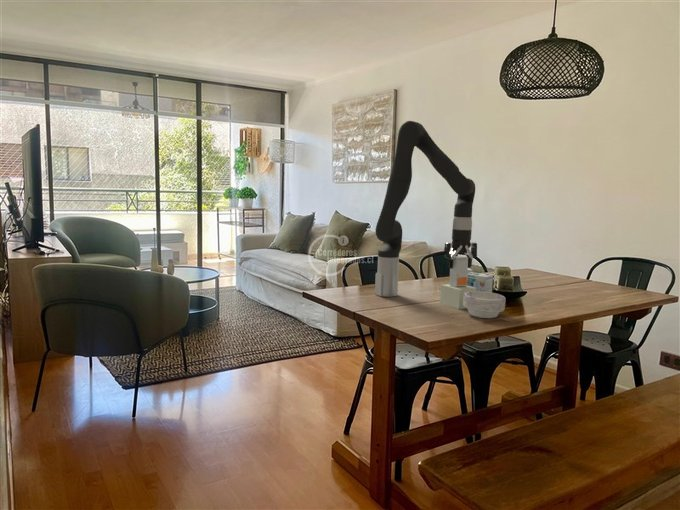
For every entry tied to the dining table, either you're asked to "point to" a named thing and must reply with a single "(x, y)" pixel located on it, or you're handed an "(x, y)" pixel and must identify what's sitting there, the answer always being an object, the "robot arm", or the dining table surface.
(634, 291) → the dining table surface
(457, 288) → the sage block
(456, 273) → the skincare box
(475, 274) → the light bulb box
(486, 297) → the paper bowls
